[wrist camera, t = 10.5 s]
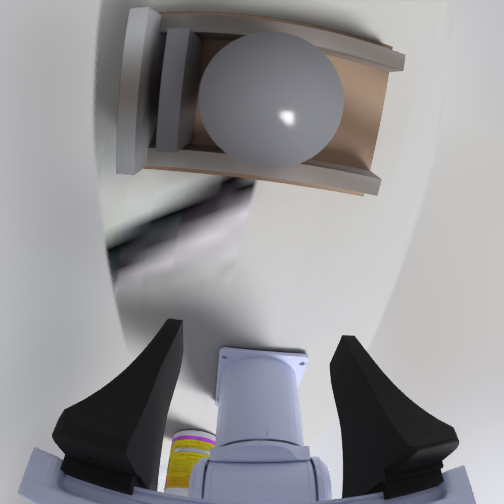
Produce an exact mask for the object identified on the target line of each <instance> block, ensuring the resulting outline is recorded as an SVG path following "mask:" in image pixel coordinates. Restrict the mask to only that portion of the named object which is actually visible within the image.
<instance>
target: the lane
mask: <svg viewBox="0 0 504 504" xmlns="http://www.w3.org/2000/svg"><path fill="white" fill-rule="evenodd" d="M171 28H190V29H191V30H192V31H193V32H194V33H195V34H196V35H197V36H198V37H199V38H200V39H201V40H202V41H203V42H204V46H203V53H202V60H201V68H200V76H199V84H198V93H197V102H196V111H195V121H194V132H193V140H192V141H191V142H190V143H188V144H187V145H186V146H184V147H183V148H182V149H180V150H179V151H178V152H177V153H172V152H157V151H156V136H157V121H158V108H159V97H160V86H161V77H162V68H163V60H164V52H165V45H166V38H167V31H168V29H171ZM267 31H268V32H282V33H288V34H291V35H295V36H297V37H300V38H302V39H304V40H306V41H308V42H310V43H311V44H313V45H314V46H316V47H317V48H318V49H319V50H321V51H322V52H323V53H324V54H325V55H326V56H327V57H328V59H329V60H330V61H331V63H332V64H333V66H334V67H335V69H336V71H337V73H338V75H339V78H340V80H341V84H342V88H343V95H344V108H343V114H342V118H341V121H340V125H339V127H338V129H337V131H336V133H335V135H334V136H333V138H332V139H331V141H330V142H329V143H328V144H327V145H326V146H325V147H324V148H323V149H322V150H321V151H320V152H319V153H318V154H316V155H315V156H313V157H312V158H310V159H308V160H306V161H304V162H302V163H299V164H297V165H294V166H290V167H285V168H277V169H272V168H259V167H255V166H251V165H248V164H245V163H242V162H240V161H238V160H236V159H234V158H232V157H231V156H229V155H228V154H227V153H225V152H224V151H223V150H222V149H221V148H219V147H218V146H217V144H216V143H215V142H214V141H213V140H212V138H211V137H210V135H209V134H208V132H207V131H206V128H205V126H204V124H203V122H202V119H201V115H200V110H199V100H198V96H199V87H200V83H201V79H202V77H203V74H204V72H205V70H206V68H207V66H208V64H209V63H210V61H211V60H212V59H213V58H214V56H215V55H216V54H217V53H218V52H219V51H220V50H221V49H222V48H224V47H225V46H226V45H228V44H229V43H231V42H233V41H234V40H236V39H238V38H240V37H243V36H246V35H249V34H253V33H257V32H267ZM404 62H405V55H404V54H402V53H399V52H396V51H393V50H392V47H391V46H389V45H386V44H383V43H380V42H377V41H373V40H370V39H367V38H364V37H360V36H357V35H353V34H350V33H346V32H342V31H338V30H334V29H330V28H326V27H322V26H317V25H312V24H307V23H302V22H297V21H291V20H285V19H279V18H272V17H264V16H256V15H246V14H235V13H219V12H159V13H157V12H156V11H155V10H153V9H152V8H151V7H139V8H130V11H129V17H128V23H127V29H126V35H125V42H124V50H123V58H122V67H121V76H120V88H119V101H118V118H117V149H116V174H130V175H135V174H136V173H137V172H139V171H140V170H141V169H157V170H170V171H182V172H194V173H204V174H214V175H223V176H232V177H241V178H249V179H257V180H265V181H272V182H279V183H286V184H293V185H300V186H306V187H312V188H319V189H325V190H331V191H336V192H342V193H348V194H353V195H358V196H364V193H366V194H371V195H376V196H377V194H378V191H379V187H380V183H381V179H380V178H379V177H378V176H376V175H375V174H374V173H372V172H371V171H370V167H371V163H372V159H373V154H374V150H375V145H376V140H377V136H378V131H379V126H380V121H381V115H382V110H383V105H384V99H385V93H386V87H387V81H388V75H389V72H395V71H403V69H404Z"/></svg>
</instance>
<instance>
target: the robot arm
mask: <svg viewBox="0 0 504 504" xmlns="http://www.w3.org/2000/svg"><path fill="white" fill-rule="evenodd" d="M182 356H183V320H176V319H168V320H166V322H165V323H164V325H163V326H162V328H161V329H160V331H159V332H158V333H157V335H156V336H155V337H154V338H153V340H152V341H151V342H150V343H149V345H148V346H147V347H146V348H145V349H144V350H143V352H142V353H141V354H140V355H139V356H138V357H137V358H136V359H135V360H134V361H133V362H132V363H131V364H130V365H129V366H128V367H127V368H126V369H125V370H124V371H123V372H122V373H121V374H119V375H118V376H117V377H116V378H115V379H113V380H112V381H111V382H110V383H108V384H107V385H106V386H104V387H103V388H102V389H100V390H99V391H97V392H95V393H94V394H92V395H91V396H89V397H88V398H86V399H84V400H82V401H80V402H78V403H77V404H75V405H73V406H71V407H69V408H67V409H65V410H64V411H63V413H62V414H61V416H60V418H59V419H58V422H57V424H56V427H55V429H54V431H53V434H52V438H53V440H54V441H55V443H56V444H57V445H58V447H59V448H60V449H61V450H62V451H63V452H64V454H65V457H64V460H62V459H60V458H59V457H57V456H54V455H52V454H50V453H47V452H45V451H42V450H40V449H38V448H34V449H33V452H32V454H31V457H30V459H29V462H28V465H27V468H26V470H25V473H24V476H23V479H22V482H21V484H20V487H19V491H18V493H19V495H21V496H23V497H24V498H26V499H27V500H29V501H30V502H32V503H34V504H476V502H475V499H474V495H473V492H472V488H471V485H470V482H469V479H468V476H467V473H466V470H465V467H464V466H460V467H457V468H454V469H451V470H448V471H446V472H444V473H441V468H443V463H442V460H444V459H445V458H446V457H447V456H448V455H450V454H451V453H452V452H453V451H454V450H455V449H456V448H457V447H458V445H459V440H458V437H457V435H456V432H455V430H454V428H453V427H452V426H450V425H448V424H446V423H444V422H442V421H440V420H438V419H436V418H435V417H434V416H432V415H430V414H429V413H427V412H426V411H424V410H423V409H422V408H420V407H419V406H418V405H416V404H415V403H414V402H413V401H412V400H410V399H409V398H408V397H407V396H406V395H405V394H403V392H401V391H400V390H399V389H398V388H397V387H396V386H395V385H394V384H393V383H392V382H391V380H390V379H389V378H388V377H387V376H386V375H385V374H384V373H383V371H382V370H381V369H380V368H379V367H378V365H377V364H376V363H375V362H374V360H373V359H372V358H371V357H370V355H369V354H368V353H367V351H366V350H365V349H364V348H363V346H362V345H361V344H360V342H359V341H358V340H357V339H356V337H355V336H347V335H342V337H341V340H340V342H339V344H338V347H337V349H336V351H335V353H334V356H333V358H332V360H331V362H330V376H331V385H332V389H333V394H334V398H335V403H336V407H337V412H338V416H339V421H340V427H341V435H342V448H343V491H342V499H334V500H332V494H331V482H330V476H329V471H328V468H327V466H326V465H325V463H324V462H322V461H321V460H320V458H318V457H310V452H309V446H304V441H303V432H302V422H301V413H300V404H299V395H298V386H299V383H300V381H301V378H302V376H303V373H304V371H305V368H306V365H307V363H308V360H309V357H308V355H307V354H300V353H284V352H271V351H259V350H248V349H238V348H228V347H223V348H221V349H220V351H219V362H218V373H217V385H216V397H215V405H216V406H218V418H217V429H216V440H215V447H210V457H209V458H201V459H200V460H199V461H198V462H197V463H196V464H195V465H194V466H193V468H192V471H191V475H190V480H189V488H188V497H186V496H179V495H173V494H168V493H162V492H157V485H158V475H159V466H160V457H161V450H162V443H163V436H164V430H165V424H166V418H167V414H168V410H169V406H170V403H171V400H172V396H173V393H174V389H175V386H176V383H177V379H178V376H179V372H180V367H181V362H182Z"/></svg>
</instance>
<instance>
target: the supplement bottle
mask: <svg viewBox="0 0 504 504" xmlns="http://www.w3.org/2000/svg"><path fill="white" fill-rule="evenodd" d="M215 440H216V437H215V436H214V435H212V434H210V433H207V432H203V431H197V430H184V431H180V432H177V433H176V434H175V435H174V436H173V440H172V445H171V451H170V457H169V464H168V469H167V476H166V483H165V489H164V493H168V494H173V495H179V496H186V497H188V488H189V480H190V475H191V471H192V468H193V466H194V465H195V464H196V463H197V462H198V461H199V460H200V459H201V458H209V457H210V447H215Z"/></svg>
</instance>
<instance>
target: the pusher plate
mask: <svg viewBox="0 0 504 504" xmlns="http://www.w3.org/2000/svg"><path fill="white" fill-rule="evenodd" d="M203 46H204V42H203V41H202V40H201V39H200V38H199V37H198V36H197V35H196V34H195V33H194V32H193V31H192V30H191V29H190V28H171V29H168V31H167V38H166V45H165V52H164V60H163V68H162V77H161V86H160V97H159V108H158V121H157V136H156V151H157V152H172V153H177V152H178V151H179V150H180V149H182V148H183V147H184V146H186V145H187V144H188V143H190V142H191V141H192V140H193V132H194V121H195V111H196V102H197V93H198V84H199V76H200V68H201V60H202V53H203Z"/></svg>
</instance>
